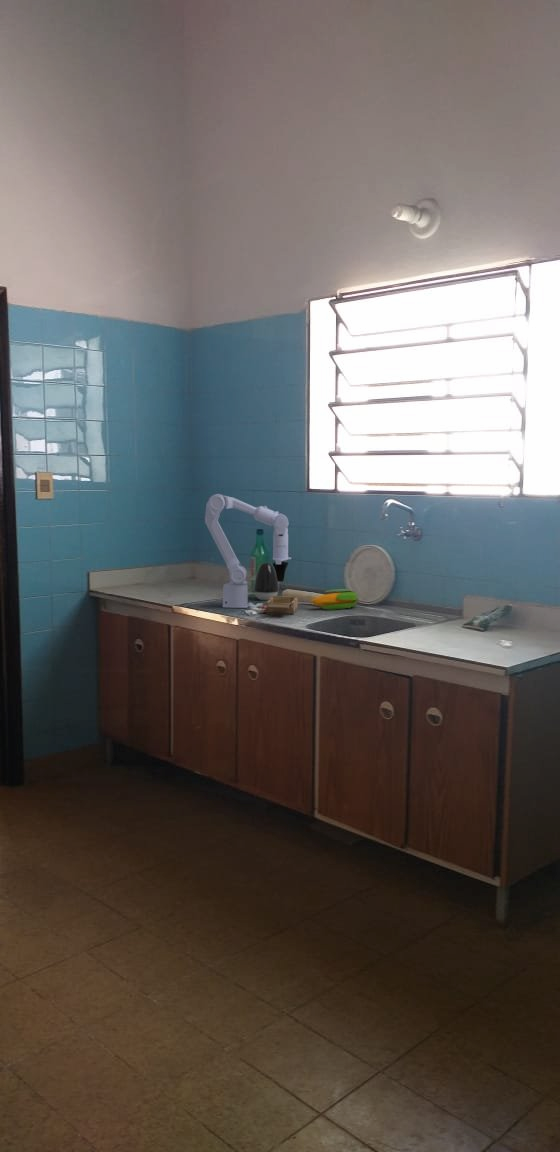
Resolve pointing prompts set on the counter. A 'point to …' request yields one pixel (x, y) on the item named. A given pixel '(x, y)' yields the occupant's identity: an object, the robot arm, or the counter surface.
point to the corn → (336, 599)
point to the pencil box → (289, 611)
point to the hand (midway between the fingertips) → (280, 581)
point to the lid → (280, 602)
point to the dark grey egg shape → (266, 582)
